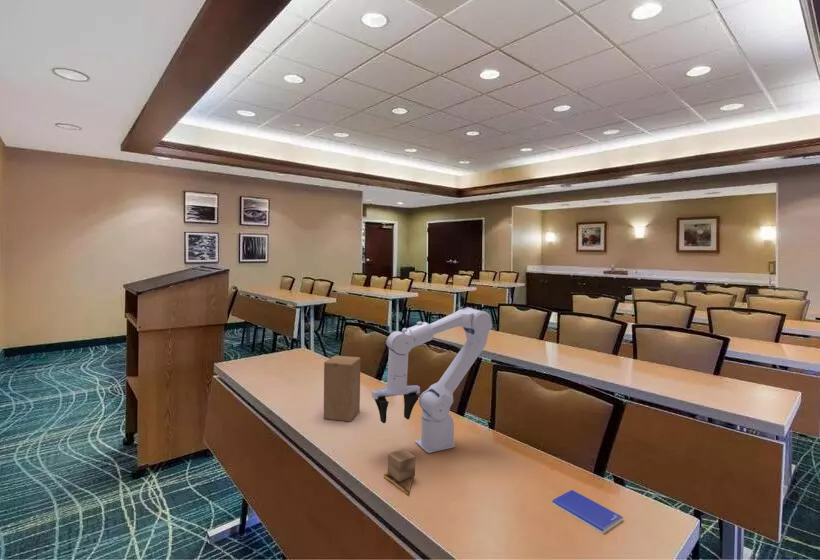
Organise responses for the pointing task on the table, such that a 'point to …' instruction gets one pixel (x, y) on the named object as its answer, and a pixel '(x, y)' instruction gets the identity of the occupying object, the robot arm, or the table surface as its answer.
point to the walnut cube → (401, 464)
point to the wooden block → (341, 388)
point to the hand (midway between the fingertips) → (395, 420)
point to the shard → (400, 483)
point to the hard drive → (587, 511)
